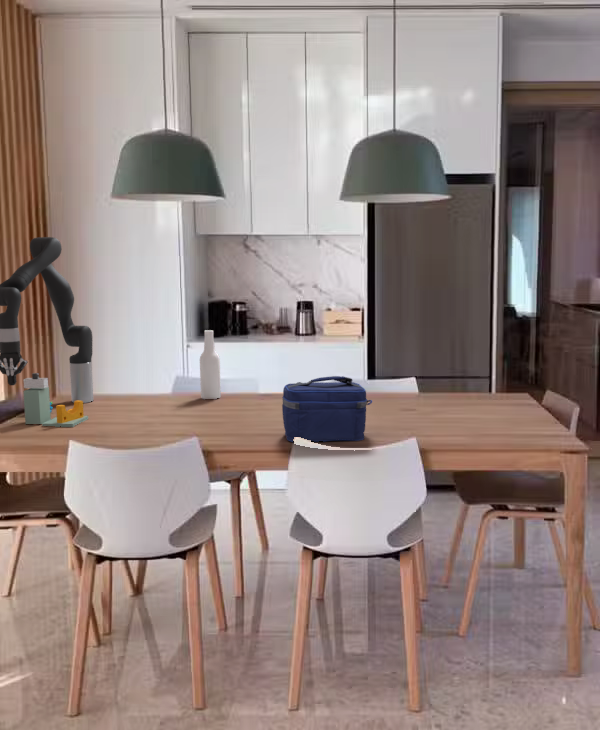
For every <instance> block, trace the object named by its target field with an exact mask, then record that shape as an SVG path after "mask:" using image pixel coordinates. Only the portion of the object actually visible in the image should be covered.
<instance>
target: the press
mask: <svg viewBox="0 0 600 730" xmlns="http://www.w3.org/2000/svg"><path fill="white" fill-rule="evenodd" d="M50 400H51V399H50V387H49V386H48V387H46V388H26V389H25V390H23V402H24V403H23V405H24V407H23V408H24V420H25V422H24V423H25V425H26V424H42V425H41V426H55V427H54V428H74V427H76V426H77V424H78V425H80V424H82V423H83V422H85V421H87V420H89V415H84V417H82V418H79V419H75V420H72V421H68V422H65V423H57V416H55V417H53V418H52V415H51V413H50V402H51V401H50ZM81 422H82V423H81ZM79 423H80V424H79ZM75 425H76V426H75ZM60 426H61V427H60Z"/></svg>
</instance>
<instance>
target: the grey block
mask: <svg viewBox="0 0 600 730" xmlns="http://www.w3.org/2000/svg"><path fill="white" fill-rule="evenodd" d="M39 375H40V373H39V372H33V373H31V377H26V378H24V379H23V389H30V388H46V387H49V378H48V377H40V376H39Z"/></svg>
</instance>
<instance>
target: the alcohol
mask: <svg viewBox="0 0 600 730" xmlns="http://www.w3.org/2000/svg"><path fill="white" fill-rule="evenodd" d="M214 334H215V333H214V330H211V329H209V330H208V329H207V330H206V329H205V330H204V343H203V347H204V348H203V352H202V353H201V354H200V356H199V377H200V378H199V379H200V380H199V381H200V397H201V399H202V400H205V399H214V400H218V399H217V398H219V399H221V397H222V393H221V392H222V390H221V389H222V387H221V358H220V356H219V354H218V352H217V351H216V348H215V339H214Z"/></svg>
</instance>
